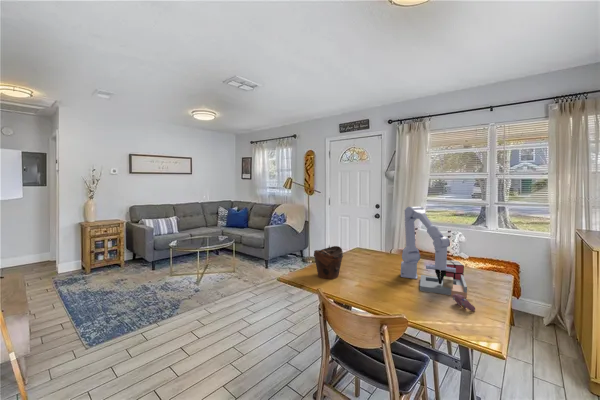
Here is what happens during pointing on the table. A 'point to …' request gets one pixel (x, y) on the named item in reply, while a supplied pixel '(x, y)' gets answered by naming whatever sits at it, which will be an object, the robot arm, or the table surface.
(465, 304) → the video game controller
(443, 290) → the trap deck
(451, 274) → the puzzle cube
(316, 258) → the dark brown bucket
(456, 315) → the table surface
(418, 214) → the robot arm
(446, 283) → the maple block
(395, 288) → the table surface
